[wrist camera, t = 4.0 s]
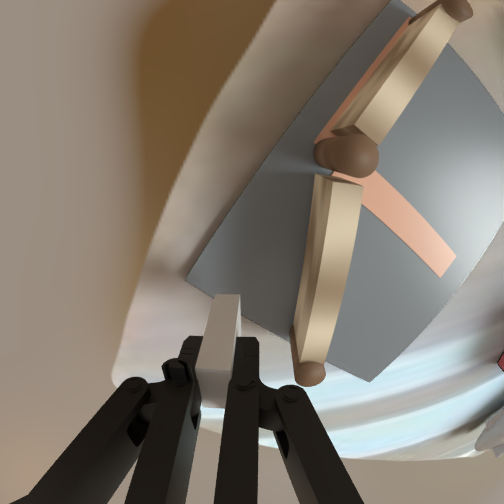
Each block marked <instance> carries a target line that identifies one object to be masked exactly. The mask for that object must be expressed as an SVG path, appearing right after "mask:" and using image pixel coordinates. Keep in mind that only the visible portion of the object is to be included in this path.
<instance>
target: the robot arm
mask: <svg viewBox="0 0 504 504" xmlns="http://www.w3.org/2000/svg"><path fill="white" fill-rule="evenodd" d="M161 367H162V370H163V374H164V377H165V380H164V381H161V382H157V383H147V381H146V380H145V379H143V378H141V377H131V378H128V379H126V380H125V381H124V382H123V383H122V384H121V385H120V386H119V387H118V389H117V390H116V391H115V392H114V393H113V394H112V395H111V397H110V398H109V399H108V400H107V401H106V402H105V404H104V405H103V406H102V407H101V408H100V410H99V411H98V412H97V413H96V414H95V415H94V417H93V418H92V419H91V420H90V421H89V422H88V424H87V425H86V426H85V427H84V428H83V429H82V431H81V432H80V433H79V434H78V435H77V437H76V438H75V439H74V440H73V441H72V442H71V444H70V445H69V446H68V447H67V448H66V450H65V451H64V452H63V453H62V454H61V456H60V457H59V458H58V459H57V460H56V461H55V463H54V464H53V465H52V466H51V467H50V469H49V470H48V471H47V473H46V474H45V475H44V476H43V477H42V478H41V480H40V481H39V482H38V483H37V485H36V486H35V487H34V488H33V489H32V490H31V492H30V493H29V494H28V495H26V496H25V497H22V498H20V499H18V500H16V501H14V502H12V503H10V504H107V503H108V502H109V500H110V499H111V497H112V496H113V494H114V493H115V491H116V490H117V488H118V487H119V485H120V484H121V482H122V481H123V479H124V478H125V476H126V475H127V473H128V472H129V470H130V469H131V467H132V466H133V464H134V463H135V461H136V460H137V458H138V460H137V464H136V467H135V470H134V474H133V476H132V480H131V483H130V486H129V490H128V493H127V496H126V500H125V503H124V504H185V502H186V496H187V491H188V485H189V479H190V473H191V468H192V462H193V457H194V451H195V446H196V441H197V436H198V430H199V425H200V420H201V410H200V406H201V401H202V406H203V407H208V408H225V414H224V422H223V430H222V438H221V446H220V454H219V463H218V471H217V479H216V488H215V496H214V504H257V494H258V439H259V427H260V428H264V429H267V430H271V431H273V433H274V436H275V439H276V442H277V445H278V447H279V450H280V453H281V456H282V458H283V461H284V464H285V466H286V469H287V472H288V474H289V477H290V479H291V482H292V485H293V487H294V490H295V493H296V495H297V497H298V500H299V503H300V504H364V502H363V501H362V499H361V497H360V495H359V493H358V491H357V489H356V487H355V486H354V484H353V482H352V480H351V478H350V476H349V474H348V473H347V471H346V469H345V467H344V465H343V463H342V461H341V459H340V457H339V455H338V453H337V452H336V450H335V448H334V446H333V444H332V442H331V440H330V438H329V436H328V434H327V432H326V430H325V428H324V427H323V425H322V423H321V421H320V419H319V417H318V415H317V413H316V411H315V409H314V407H313V405H312V403H311V401H310V399H309V397H308V395H307V393H306V392H305V391H304V389H303V388H301V387H299V386H296V385H285V386H282V387H280V388H279V389H273V388H270V387H267V386H266V385H264V384H263V383H262V382H261V380H260V378H259V342H258V340H257V339H256V337H241V309H240V294H215V297H214V301H213V304H212V308H211V311H210V315H209V319H208V322H207V326H206V329H205V333H204V336H189V337H188V338H187V339H186V340H185V341H184V342H183V345H182V349H181V351H180V354H179V356H178V358H173V359H170V360H167V361H166V362H164V363H163V365H162V366H161Z"/></svg>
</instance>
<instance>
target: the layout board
mask: <svg viewBox="0 0 504 504" xmlns="http://www.w3.org/2000/svg"><path fill="white" fill-rule="evenodd" d="M416 15H417V14H416V13H415V12H414V11H413V10H411V9H410V8H409V7H408V6H407V5H405V4H404V3H403V2H402V1H400V0H391V1H390V2H389V3H388V4H387V6H386V7H385V8H384V9H383V10H382V11H381V12H380V14H379V15H378V16H377V17H376V18H375V19H374V20H373V22H372V23H371V24H370V25H369V26H368V27H367V29H366V30H365V31H364V32H363V33H362V35H361V36H360V37H359V38H358V39H357V41H356V42H355V43H354V44H353V45H352V47H351V48H350V49H349V50H348V52H347V53H346V54H345V55H344V56H343V58H342V59H341V60H340V61H339V63H338V64H337V65H336V66H335V68H334V69H333V70H332V71H331V73H330V74H329V75H328V77H327V78H326V79H325V80H324V82H323V83H322V84H321V85H320V87H319V88H318V89H317V91H316V92H315V93H314V95H313V96H312V97H311V98H310V100H309V101H308V102H307V104H306V105H305V106H304V108H303V109H302V110H301V112H300V113H299V114H298V116H297V117H296V118H295V120H294V121H293V122H292V124H291V125H290V126H289V128H288V129H287V130H286V132H285V133H284V135H283V136H282V137H281V139H280V140H279V141H278V143H277V144H276V145H275V147H274V148H273V150H272V151H271V152H270V154H269V155H268V157H267V158H266V159H265V161H264V162H263V164H262V165H261V166H260V168H259V169H258V171H257V172H256V173H255V175H254V176H253V178H252V179H251V181H250V182H249V183H248V185H247V186H246V188H245V189H244V191H243V192H242V194H241V195H240V196H239V198H238V199H237V201H236V202H235V204H234V205H233V207H232V208H231V210H230V211H229V213H228V214H227V216H226V217H225V219H224V220H223V222H222V223H221V225H220V226H219V228H218V229H217V231H216V232H215V234H214V235H213V237H212V238H211V240H210V241H209V243H208V244H207V246H206V247H205V249H204V250H203V252H202V253H201V255H200V256H199V258H198V260H197V261H196V263H195V264H194V266H193V267H192V269H191V270H190V272H189V274H188V275H187V277H186V279H185V281H186V282H188V283H190V284H191V285H193V286H194V287H196V288H198V289H199V290H201V291H202V292H204V293H206V294H207V295H209V296H211V297H212V298H214V297H215V294H240V309H241V315H242V316H244V317H246V318H248V319H249V320H251V321H253V322H255V323H256V324H258V325H260V326H262V327H263V328H265V329H267V330H269V331H271V332H272V333H274V334H276V335H278V336H280V337H281V338H283V339H285V340H287V341H289V342H290V337H289V330H290V328H291V326H292V325H293V321H294V316H295V310H296V305H297V299H298V293H299V287H300V281H301V275H302V268H303V262H304V255H305V249H306V242H307V235H308V227H309V220H310V212H311V204H312V196H313V188H314V179H315V174H322V175H329V176H336V177H341V178H343V179H346V180H349V181H351V182H354V183H357V184H359V185H362V186H364V189H363V196H362V202H361V209H360V215H359V221H358V227H357V232H356V238H355V243H354V248H353V253H352V258H351V263H350V267H349V272H348V277H347V281H346V285H345V290H344V294H343V298H342V302H341V306H340V310H339V314H338V318H337V321H336V325H335V329H334V332H333V336H332V339H331V343H330V346H329V350H328V353H327V356H326V359H325V361H327V362H329V363H331V364H333V365H335V366H337V367H339V368H341V369H343V370H345V371H347V372H349V373H351V374H353V375H355V376H357V377H359V378H361V379H363V380H365V381H367V382H371V381H372V380H373V379H374V378H375V377H376V376H378V375H379V374H380V373H381V372H382V371H383V370H384V369H385V368H386V367H387V366H389V365H390V364H391V363H392V362H393V361H394V360H395V359H396V358H397V357H398V356H399V355H400V354H401V353H402V352H403V351H404V350H405V349H406V348H407V347H408V346H409V345H410V344H411V343H412V342H413V341H414V340H415V339H416V338H417V337H418V336H419V335H420V334H421V332H422V331H423V330H424V329H425V328H426V327H427V326H428V325H429V324H430V323H431V321H432V320H433V319H434V318H435V317H436V316H437V315H438V313H439V312H440V311H441V310H442V309H443V307H444V306H445V305H446V304H447V303H448V301H449V300H450V299H451V298H452V296H453V295H454V294H455V293H456V291H457V290H458V289H459V287H460V286H461V285H462V283H463V282H464V281H465V279H466V278H467V277H468V275H469V274H470V272H471V271H472V270H473V268H474V267H475V265H476V264H477V262H478V261H479V260H480V258H481V257H482V255H483V254H484V252H485V250H486V249H487V247H488V246H489V244H490V243H491V241H492V239H493V238H494V236H495V234H496V233H497V231H498V229H499V228H500V226H501V224H502V222H503V221H504V114H503V113H502V111H501V110H500V108H499V107H498V105H497V104H496V102H495V101H494V99H493V98H492V96H491V95H490V93H489V92H488V91H487V89H486V88H485V87H484V85H483V84H482V83H481V81H480V80H479V79H478V77H477V76H476V75H475V74H474V72H473V71H472V70H471V69H470V68H469V66H468V65H467V64H466V63H465V62H464V61H463V59H462V58H461V57H460V56H459V55H458V54H457V53H456V52H455V50H454V49H453V48H452V47H451V46H450V45H449V44H448V43H447V44H446V45H445V47H444V49H443V50H442V52H441V53H440V55H439V57H438V58H437V60H436V61H435V63H434V64H433V66H432V68H431V69H430V71H429V72H428V74H427V75H426V77H425V78H424V80H423V82H422V83H421V85H420V86H419V88H418V89H417V91H416V92H415V94H414V95H413V97H412V98H411V100H410V101H409V103H408V104H407V106H406V107H405V109H404V110H403V112H402V113H401V115H400V116H399V117H398V119H397V120H396V122H395V123H394V125H393V126H392V128H391V129H390V130H389V132H388V133H387V135H386V136H385V138H384V139H383V140H382V142H381V143H380V145H379V146H377V149H378V152H379V163H378V166H377V168H376V170H375V171H374V172H373V173H372V174H371V175H369V176H367V177H365V178H355V177H351V176H348V175H345V174H342V173H339V172H335V171H332V170H329V169H325V168H322V167H321V166H319V165H318V164H317V163H316V162H315V160H314V157H313V149H314V147H315V145H316V144H317V143H318V142H319V141H320V140H322V139H327V138H333V137H337V136H336V135H335V134H333V133H332V132H331V131H330V130H331V129H332V127H333V126H334V125H335V123H336V122H337V121H338V119H339V118H340V117H341V115H342V114H343V112H344V111H345V110H346V108H347V107H348V106H349V104H350V103H351V102H352V100H353V99H354V98H355V96H356V95H357V94H358V92H359V91H360V90H361V88H362V87H363V86H364V84H365V83H366V82H367V80H368V79H369V78H370V76H371V75H372V74H373V72H374V71H375V70H376V68H377V67H378V66H379V64H380V63H381V62H382V60H383V59H384V58H385V56H386V55H387V54H388V52H389V51H390V50H391V48H392V47H393V46H394V44H395V43H396V42H397V40H398V39H399V38H400V37H401V35H402V34H403V33H404V31H405V30H406V29H407V27H408V26H409V25H408V23H409V20H410V19H412V18H413V17H414V16H416Z"/></svg>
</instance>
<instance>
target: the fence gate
mask: <svg viewBox="0 0 504 504" xmlns="http://www.w3.org/2000/svg"><path fill="white" fill-rule="evenodd" d="M363 189H364V186H362V185H359V184H357V183H354V182H351V181H349V180H346V179H343V178H341V177H336V176H329V175H322V174H315V179H314V188H313V196H312V204H311V212H310V220H309V227H308V235H307V242H306V249H305V255H304V262H303V268H302V275H301V281H300V287H299V293H298V299H297V305H296V310H295V316H294V321H293V325H292V326H291V328H290V330H289V337H290V345H291V353H292V360H293V368H294V376H295V381H296V383H297V384H299V385H300V386H304V387H311V386H315V385H317V384H319V383H321V382H322V381H323V380H324V378H325V376H326V373H325V368H324V363H325V359H326V356H327V353H328V350H329V346H330V343H331V339H332V336H333V332H334V329H335V325H336V321H337V318H338V314H339V310H340V306H341V302H342V298H343V294H344V290H345V285H346V281H347V277H348V272H349V267H350V263H351V258H352V253H353V248H354V243H355V238H356V232H357V227H358V221H359V215H360V209H361V202H362V196H363Z"/></svg>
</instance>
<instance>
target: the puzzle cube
mask: <svg viewBox="0 0 504 504" xmlns="http://www.w3.org/2000/svg"><path fill="white" fill-rule="evenodd" d="M498 366H499V367H500V368H501V369H502V371H503V372H504V352H503V354H502V356H501V358H500V359H499V361H498Z"/></svg>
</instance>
